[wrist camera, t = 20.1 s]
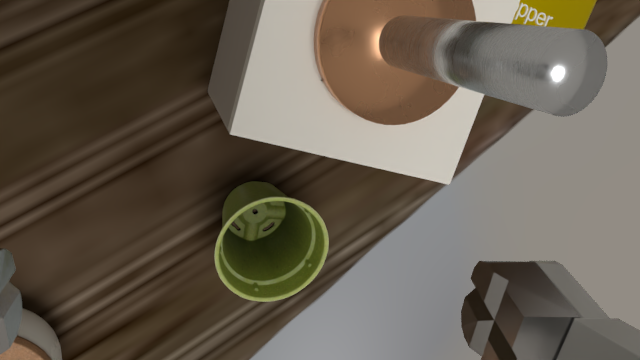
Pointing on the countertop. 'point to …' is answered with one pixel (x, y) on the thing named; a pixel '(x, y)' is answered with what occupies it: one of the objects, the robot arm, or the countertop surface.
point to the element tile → (554, 13)
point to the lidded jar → (34, 340)
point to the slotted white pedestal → (326, 94)
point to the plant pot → (268, 243)
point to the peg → (448, 59)
